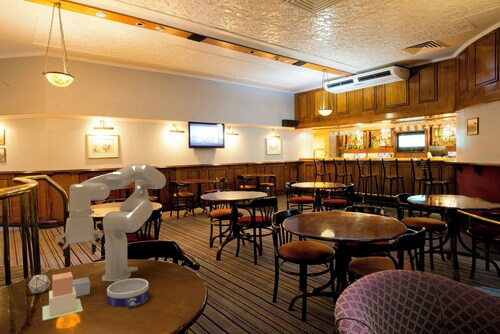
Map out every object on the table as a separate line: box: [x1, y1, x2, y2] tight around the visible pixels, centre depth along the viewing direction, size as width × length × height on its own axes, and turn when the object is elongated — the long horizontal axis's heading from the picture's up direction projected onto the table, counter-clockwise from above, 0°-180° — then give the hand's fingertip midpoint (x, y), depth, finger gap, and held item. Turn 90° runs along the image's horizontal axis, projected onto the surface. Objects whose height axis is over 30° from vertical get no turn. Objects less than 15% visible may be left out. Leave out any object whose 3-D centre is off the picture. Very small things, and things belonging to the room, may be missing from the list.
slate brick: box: [73, 276, 91, 297], centre depth 125 cm, size 6×6×6 cm
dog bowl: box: [106, 278, 149, 309], centre depth 120 cm, size 15×15×6 cm
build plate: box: [42, 298, 84, 321], centre depth 111 cm, size 12×12×1 cm
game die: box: [25, 272, 52, 296], centre depth 127 cm, size 9×8×10 cm
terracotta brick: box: [51, 271, 74, 297], centre depth 111 cm, size 6×6×6 cm
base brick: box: [48, 286, 77, 316], centre depth 111 cm, size 8×8×6 cm
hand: (79, 255), depth 124 cm, fingers open, 9 cm apart
